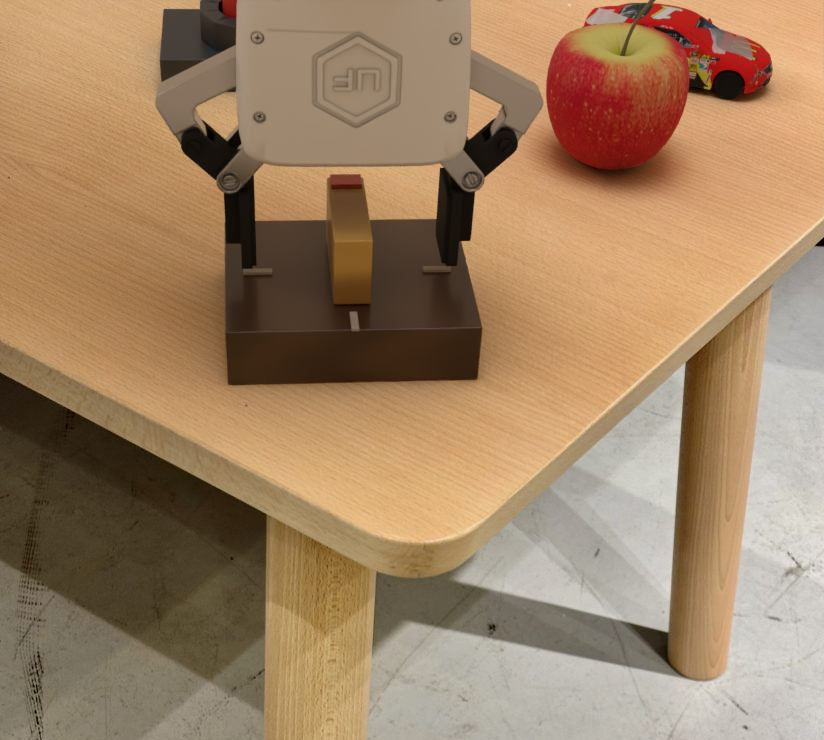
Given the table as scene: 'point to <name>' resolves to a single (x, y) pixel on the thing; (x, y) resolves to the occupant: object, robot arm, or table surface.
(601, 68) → the apple
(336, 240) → the lock
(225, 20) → the button box
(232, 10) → the release button
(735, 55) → the race car
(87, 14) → the table surface
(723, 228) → the table surface
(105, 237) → the table surface
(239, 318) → the plate
